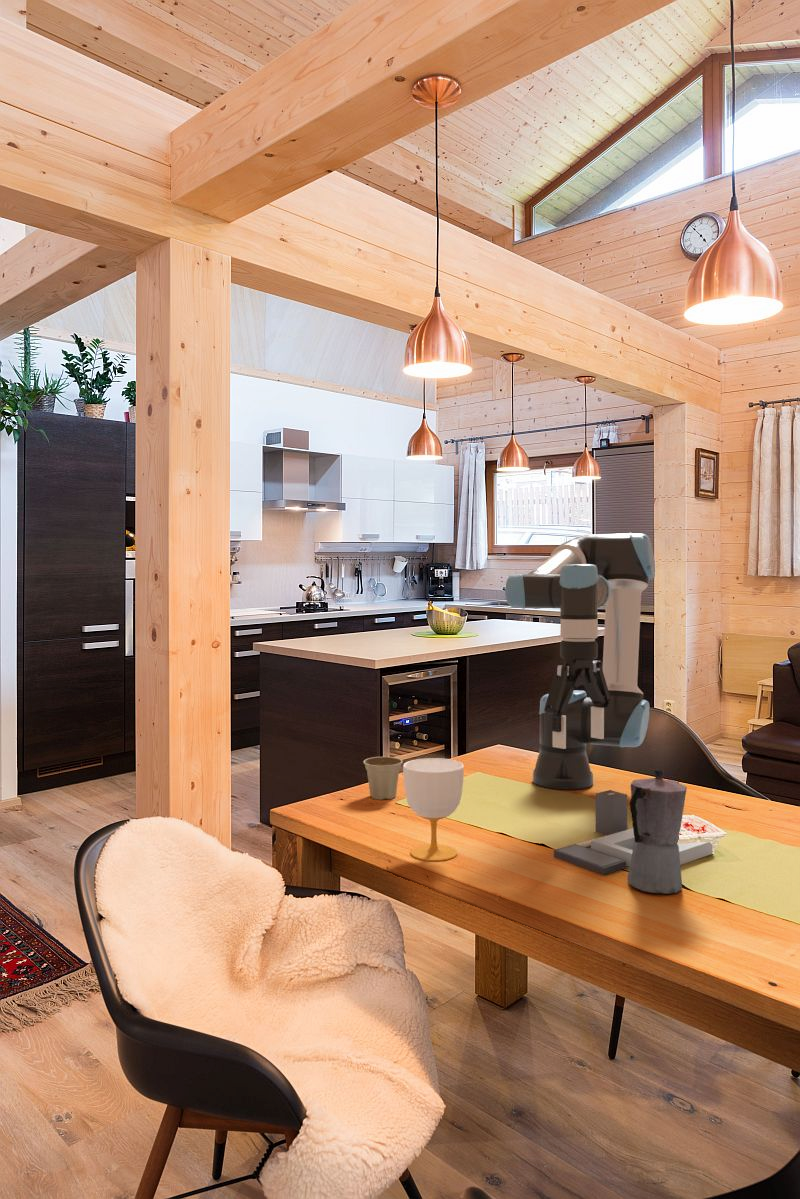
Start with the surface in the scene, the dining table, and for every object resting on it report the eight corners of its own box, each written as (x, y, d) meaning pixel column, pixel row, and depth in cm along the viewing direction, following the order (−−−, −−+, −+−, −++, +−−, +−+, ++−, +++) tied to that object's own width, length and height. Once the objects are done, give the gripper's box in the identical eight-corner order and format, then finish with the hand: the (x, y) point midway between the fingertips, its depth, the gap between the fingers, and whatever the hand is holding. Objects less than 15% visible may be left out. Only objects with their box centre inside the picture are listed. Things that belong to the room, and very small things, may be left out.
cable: (612, 837, 165) (612, 832, 165) (616, 839, 164) (616, 834, 164) (575, 848, 159) (575, 843, 159) (579, 850, 158) (579, 845, 158)
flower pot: (399, 802, 192) (399, 766, 191) (360, 801, 193) (359, 764, 193) (405, 792, 201) (405, 757, 201) (367, 790, 202) (367, 756, 202)
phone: (575, 849, 158) (575, 843, 158) (625, 867, 148) (625, 860, 148) (553, 856, 154) (553, 849, 154) (603, 875, 145) (603, 867, 145)
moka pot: (700, 881, 142) (701, 766, 141) (662, 908, 130) (662, 784, 129) (648, 868, 148) (648, 758, 147) (607, 893, 136) (607, 774, 136)
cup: (442, 868, 148) (441, 775, 148) (391, 855, 156) (390, 766, 155) (476, 850, 158) (475, 763, 157) (426, 839, 165) (426, 755, 164)
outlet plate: (650, 835, 167) (650, 821, 166) (712, 853, 155) (712, 839, 155) (591, 853, 156) (591, 839, 156) (652, 874, 145) (652, 859, 145)
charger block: (609, 827, 172) (609, 789, 171) (627, 833, 168) (627, 794, 168) (595, 831, 169) (595, 793, 169) (612, 837, 165) (612, 797, 165)
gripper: (597, 635, 179) (597, 732, 179) (526, 642, 162) (526, 749, 162) (627, 637, 173) (627, 736, 174) (557, 644, 156) (557, 754, 157)
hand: (578, 742), depth 168 cm, fingers open, 13 cm apart
